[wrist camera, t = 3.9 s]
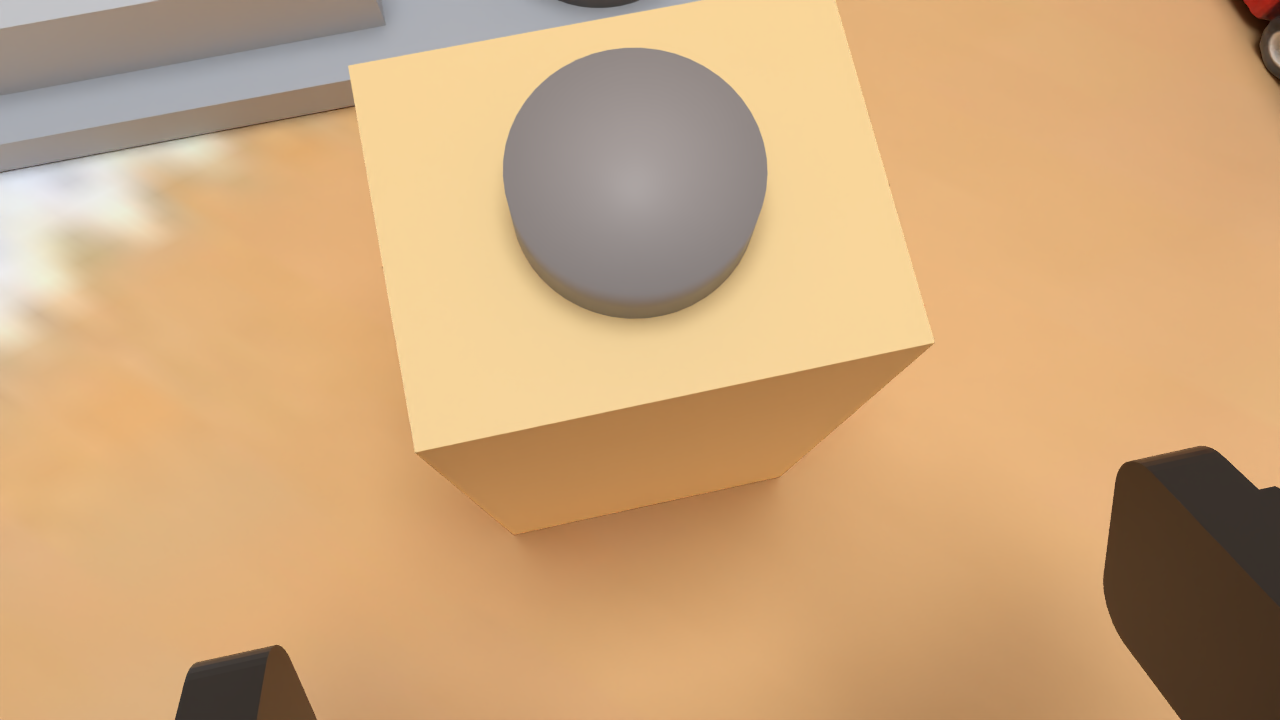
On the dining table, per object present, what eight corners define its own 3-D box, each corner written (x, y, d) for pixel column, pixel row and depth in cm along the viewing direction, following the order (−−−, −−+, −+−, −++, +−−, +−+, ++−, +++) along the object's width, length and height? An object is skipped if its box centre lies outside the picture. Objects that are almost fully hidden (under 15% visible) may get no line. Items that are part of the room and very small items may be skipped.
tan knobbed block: (513, 534, 20) (398, 439, 9) (473, 327, 21) (327, 22, 10) (779, 477, 20) (961, 320, 10) (729, 275, 21) (844, -72, 10)
